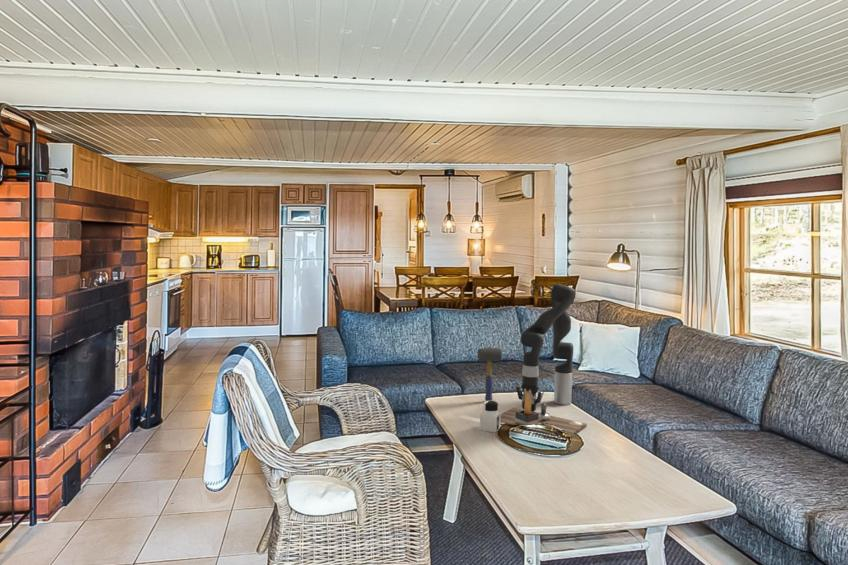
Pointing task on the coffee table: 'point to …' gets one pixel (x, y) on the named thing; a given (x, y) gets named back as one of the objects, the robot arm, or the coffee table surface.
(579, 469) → the coffee table surface
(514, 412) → the base
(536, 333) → the robot arm
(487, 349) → the rubber mallet
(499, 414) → the container
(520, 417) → the lever
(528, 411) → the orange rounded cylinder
